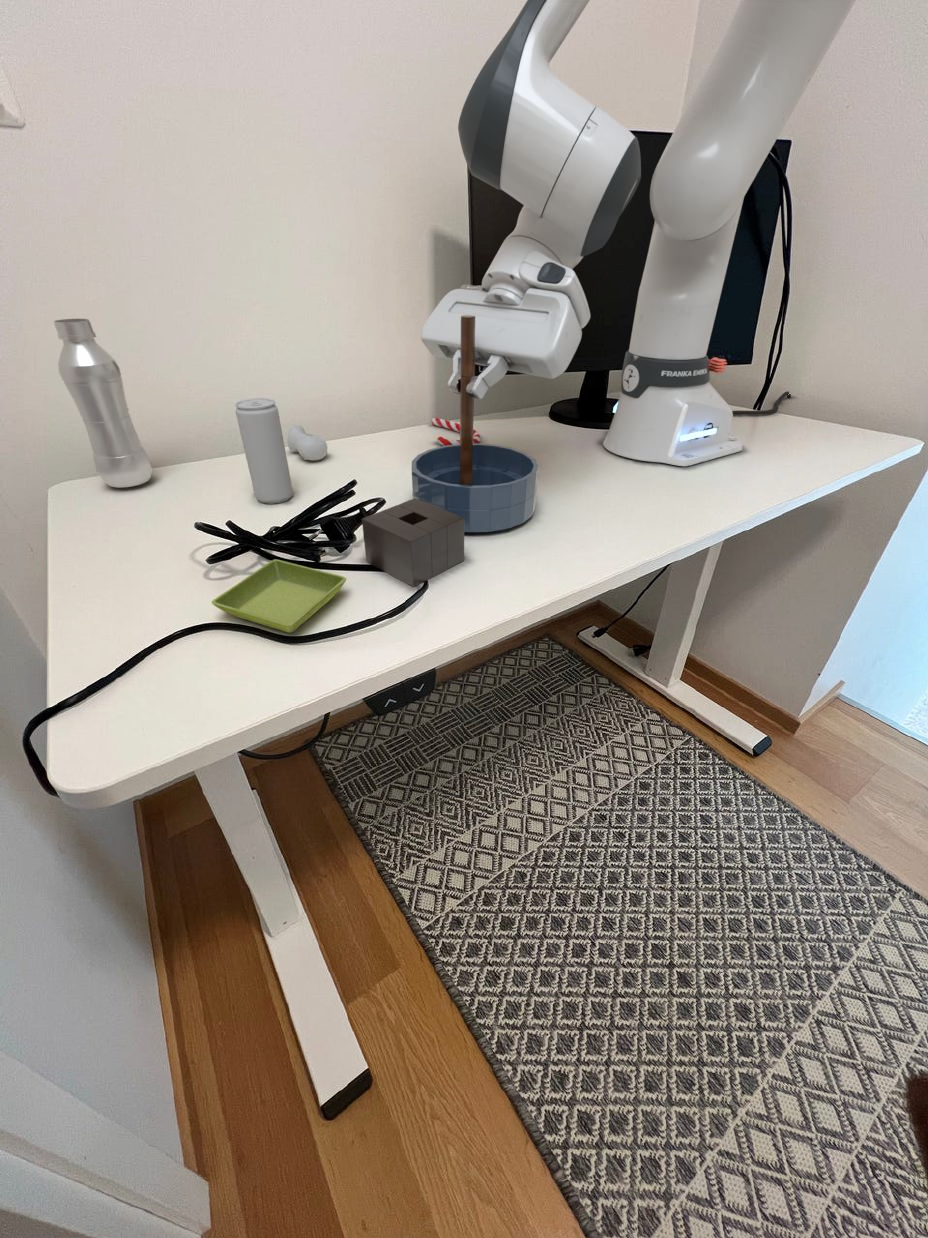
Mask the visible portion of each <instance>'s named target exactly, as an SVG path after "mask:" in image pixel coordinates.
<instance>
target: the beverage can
mask: <svg viewBox="0 0 928 1238" xmlns="http://www.w3.org/2000/svg"><path fill="white" fill-rule="evenodd" d="M234 406H235V415H236V419H237V420H236V421H237V424H238V428H239V433H240V438H241V441H242V446H243V451H244V454H245V459H246V462H247V463H246V464H247V467H248V472H249V476H250V480H251V484H252V488H253V494H254V497H255V498H256V499H257V500H258V502H260V503H263V504H266V505H267V504H268V505H273V504H274V505H275V504H276V505H277V504H281V503H285V502H286V501H288V500H290V499H291V497H292V496H293V494H294V490H293V484H292V479H291V473H290V468H289V467H290V466H289V461H288V457H287V452H286V451H287V450H286V447H285V441H284V435H283V431H282V424H281V419H280V414H279V409H278V406H277V405H276V400H274V399H273V398H268V397H267V398H266V397H254V398H253V397H252V398H246V399H242V400H238V401H236V402H235V403H234Z"/></svg>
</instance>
